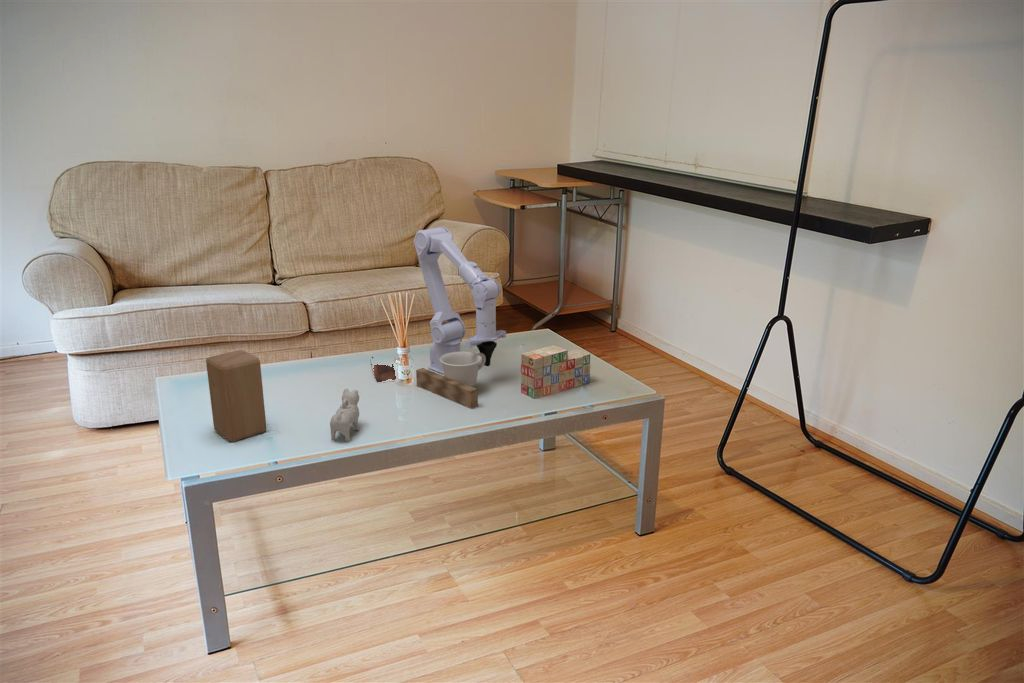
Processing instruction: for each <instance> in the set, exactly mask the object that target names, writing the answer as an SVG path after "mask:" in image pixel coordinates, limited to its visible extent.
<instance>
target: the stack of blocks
mask: <svg viewBox="0 0 1024 683" xmlns="http://www.w3.org/2000/svg"><path fill="white" fill-rule="evenodd" d="M520 356H521V357H520V360H521V363H520V379H521V380H520V381H521V382H520V393H521V394H524V395H526V396H527V397H530V398H532V399H533V400H535V399H539V398H542V397H547V396H551V395H553V394H554V395H555V394H557V393H560V392H563V391H566V389H567V390H570V388H571V389H573V388H572V387H574V388H576V387H577V386H578V387H580V385H581V386H584V385H583V384H585V385H588V384H590V382H591V379H590V378H591V354H590V353H588V352H585V351H582V350H580V349H575V348H574V349H571V350H568V349H565V348H563V347H560V346H556V345H553V344H552V345H549V346H546V347H542V348H538V349H534V350H530V351H526V352H522V353H521V355H520ZM587 383H588V384H587Z"/></svg>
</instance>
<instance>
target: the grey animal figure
mask: <svg viewBox="0 0 1024 683" xmlns="http://www.w3.org/2000/svg"><path fill="white" fill-rule="evenodd" d="M342 391H343V392H342V395H341V402H342V404H341V405H339V408H338V409H337V410H336V412H335V414H334V415H332V417H331V418H330V422H329V427H330V436H331V439H330V440H331V441H332V440H335V441H336V434H337V432H339V433H341V434H343V436H344V437H345V438H344V442H346V441H347V443H349V442H351V438H350V426H351V425H352V426H353V428H354V431H355V430H359V431H361V428H360V425H359V417H360V410H359V407H358V403H359V401H360V395H359V392H358V391H359V390H357V389H353V390H352V391H349V388H344V389H343V390H342Z"/></svg>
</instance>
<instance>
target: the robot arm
mask: <svg viewBox="0 0 1024 683" xmlns="http://www.w3.org/2000/svg"><path fill="white" fill-rule="evenodd" d="M412 241H413V245H414V247H415V248H414V249H415V251H416V255H417V258H418V259H417V260H418V263H419V266H420V270H421V274H422V276H423V279H424V284H425V286H426V290H427V294H428V297H429V300H430V303H431V306H432V310H433V314H434V315H433V317H431V318H432V319H431V320H430V321H429V326H430V337H431V339H432V341H433V342H432V343H431V345H430V348H429V356H430V357H429V358H430V365H429V366H428V370H429V369H430V370H431V371H433V372H434V371H435V372H436V373H437V372H438V374H441V375H444V371H443V365H442V363H441V362H440V360H439V359H440V357H441V356H443V355H444V354H447V353H451V352H461V342H462V341H463V338H464V337H465V335H466V326H465V323H464V321H463V320H462V318H461V316H460V313H457V311H455V310H453V309H452V306H451V302H450V300H449V296H448V292H447V289H446V286H445V282H444V279H443V275H442V272H441V268H440V266H439V261H438V260H439V258H440V257H441V255H442V254H443V255H444V256H445V257H446V258H447V259H448V260H449V261H450V262H451V263H453V265H454V266H455V267H456V268H458V275H459V276H460V278H461V279H462V281H464V282H465V284H466V285H467V286H468V287H469V288H470V289H471V291H470V292H471V293H470V294H471V297H472V299H473V300H474V304H473V305H474V307H475V329H476V331H475V332H476V333H475V335H474V336H471V337H470V338H468V339H465V344H464V345H465V347H466V348H470V349H471V348H473V347H474V346H476V347H477V349H478V352H479V353H483V354H484V355H485V357H486V362H485V364H484V366H485V367H489V366H491V359H492V356H493V353H494V352H495V349H496V348H497V347H498V346H497V345H498V344H497V342H496V341H498V340H499V339H506V338H507V330H503V329H500V330H497V320H496V319H497V318H496V317H497V316H496V315H497V311H496V308H497V306H496V305H497V304H496V301H497V298H498V297H499V296H500V293H501V289H500V284H499V282H498V281H497V280H496V279H495V278H490V277H489V276H487V275H486V274H485V272H483V271H482V270H481V268H480V267H479V266H478V264H477V263H476V262H474V261H469V260H468V259H467V258H466V256H464V254H463V252H462V251H461V250H460V248H459V247H458V246H457V244H456V243H455V241H454V239H453V233H451V232H450V230H449V229H448V228H447V227H446V226H439V227H434V228H428V229H427V228H426V229H419V230H418V231H416V233H415V236H414V239H413V240H412ZM444 321H445V322H444Z"/></svg>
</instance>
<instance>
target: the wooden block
mask: <svg viewBox="0 0 1024 683" xmlns="http://www.w3.org/2000/svg"><path fill="white" fill-rule="evenodd" d="M205 364H206V371H207V372H206V373H207V374H206V375H207V381H208V389H209V395H210V404H211V406H210V407H211V415H212V420H213V421H212V423H213V429H214V432H216V433H217V434H218V435H220V436H222V437H223V438H224V439H226V440H227V441H229V442H236V441H239V440H243V439H246V438H250V437H252V436H256V435H259V434H261V433H265V432H266V431H267V420H266V409H265V408H266V407H265V398H264V388H263V387H264V386H263V377H262V368H261V360H260V358H259V357H257V356H256V355H253V354H252V353H249V352H247V351H245V350H243V349H238V350H235V351H231V352H226V353H221V354H217V355H212V356H209V357H206V359H205Z"/></svg>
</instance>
